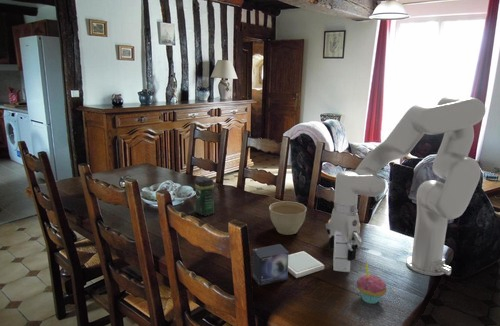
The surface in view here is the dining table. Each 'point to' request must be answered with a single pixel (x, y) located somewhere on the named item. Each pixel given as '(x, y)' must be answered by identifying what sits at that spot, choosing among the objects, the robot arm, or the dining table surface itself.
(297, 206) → the planter bowl
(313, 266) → the plate
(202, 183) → the coffee jar
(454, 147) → the robot arm
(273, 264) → the small box
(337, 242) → the syrup box
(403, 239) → the dining table surface
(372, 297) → the cupcake
